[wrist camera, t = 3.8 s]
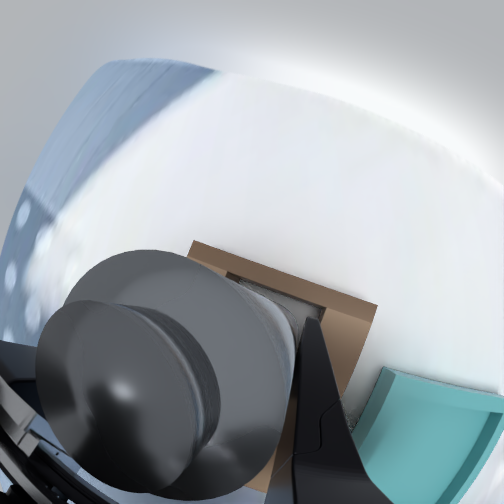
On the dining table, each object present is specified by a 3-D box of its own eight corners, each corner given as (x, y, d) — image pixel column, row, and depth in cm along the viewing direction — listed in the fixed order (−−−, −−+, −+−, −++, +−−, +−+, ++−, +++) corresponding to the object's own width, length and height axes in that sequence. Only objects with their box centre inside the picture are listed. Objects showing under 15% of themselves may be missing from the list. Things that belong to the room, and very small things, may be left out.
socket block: (286, 473, 13) (282, 498, 10) (151, 412, 16) (127, 425, 13) (364, 307, 15) (377, 305, 12) (211, 252, 17) (193, 239, 15)
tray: (428, 511, 10) (437, 526, 7) (308, 501, 12) (307, 521, 10) (497, 393, 11) (516, 399, 9) (383, 366, 14) (396, 374, 12)
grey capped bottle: (283, 377, 15) (203, 569, 1) (222, 352, 16) (5, 416, 2) (309, 315, 16) (352, 312, 2) (245, 291, 16) (52, 196, 3)
